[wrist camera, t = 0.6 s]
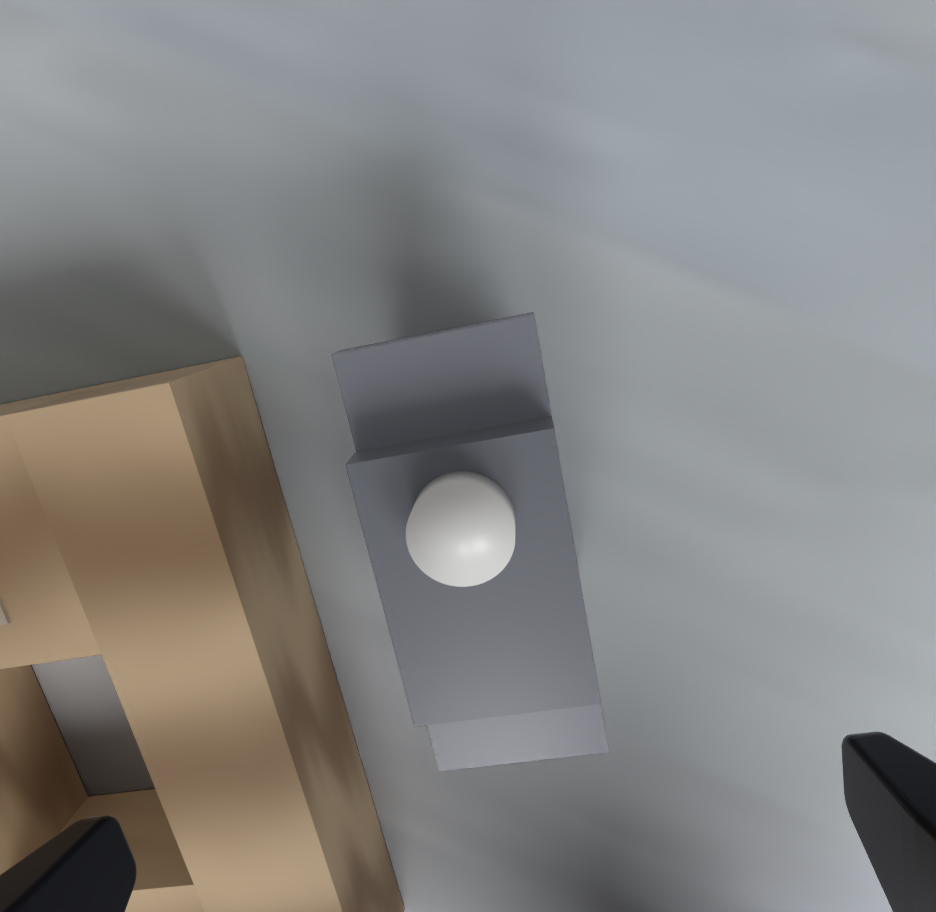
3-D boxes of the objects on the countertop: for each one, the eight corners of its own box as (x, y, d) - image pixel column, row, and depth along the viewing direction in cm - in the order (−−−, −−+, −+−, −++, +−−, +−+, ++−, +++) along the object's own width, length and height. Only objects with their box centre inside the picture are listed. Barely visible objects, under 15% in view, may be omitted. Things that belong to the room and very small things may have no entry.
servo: (587, 631, 20) (619, 811, 14) (457, 649, 21) (429, 831, 14) (529, 297, 17) (536, 323, 11) (382, 327, 18) (305, 369, 11)
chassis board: (404, 908, 24) (382, 1037, 20) (50, 938, 26) (-35, 1063, 22) (241, 355, 18) (166, 383, 14) (-193, 443, 20) (-365, 488, 16)
